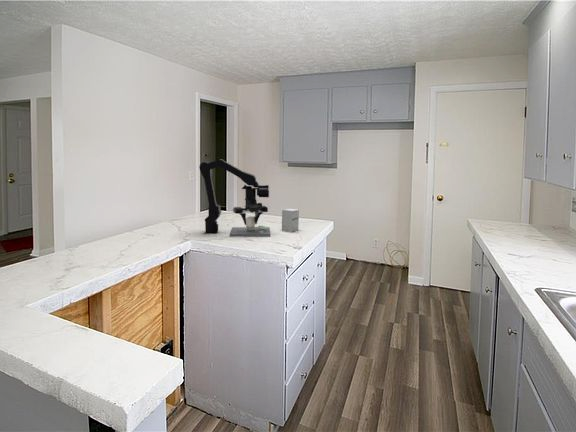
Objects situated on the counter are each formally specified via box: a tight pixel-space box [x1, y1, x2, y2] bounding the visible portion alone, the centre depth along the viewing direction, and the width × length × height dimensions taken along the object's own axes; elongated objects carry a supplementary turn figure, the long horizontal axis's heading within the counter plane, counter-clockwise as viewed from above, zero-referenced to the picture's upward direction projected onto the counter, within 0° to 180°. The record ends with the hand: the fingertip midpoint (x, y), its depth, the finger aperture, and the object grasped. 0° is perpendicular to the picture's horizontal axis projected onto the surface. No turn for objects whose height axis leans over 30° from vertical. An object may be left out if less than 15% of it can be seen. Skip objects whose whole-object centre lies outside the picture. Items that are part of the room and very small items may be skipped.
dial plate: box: [229, 225, 271, 238], centre depth 208 cm, size 22×17×3 cm
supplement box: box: [281, 208, 300, 233], centre depth 216 cm, size 7×7×13 cm
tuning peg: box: [245, 215, 268, 231], centre depth 206 cm, size 12×6×8 cm, turn 74°
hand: (250, 224), depth 207 cm, fingers closed on tuning peg, 6 cm apart
